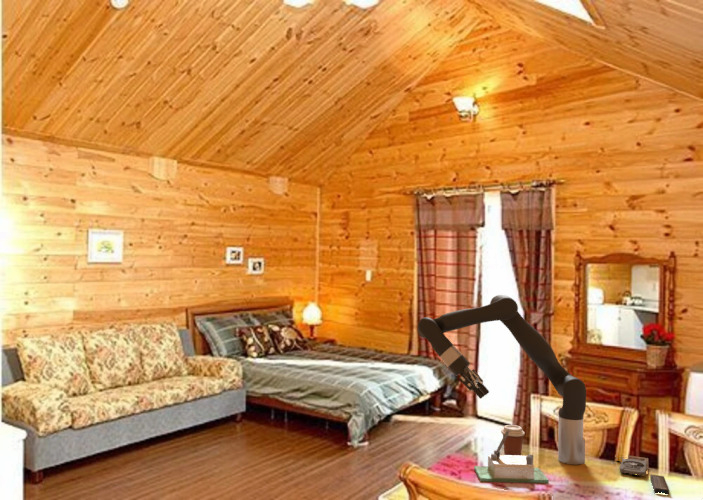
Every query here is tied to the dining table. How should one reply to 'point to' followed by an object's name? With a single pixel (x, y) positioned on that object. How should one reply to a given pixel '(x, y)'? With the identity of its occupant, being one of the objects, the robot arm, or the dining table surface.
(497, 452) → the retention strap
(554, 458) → the dining table surface
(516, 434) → the coffee cup
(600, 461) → the dining table surface
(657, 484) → the multiport hub
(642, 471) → the graphics card
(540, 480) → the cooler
